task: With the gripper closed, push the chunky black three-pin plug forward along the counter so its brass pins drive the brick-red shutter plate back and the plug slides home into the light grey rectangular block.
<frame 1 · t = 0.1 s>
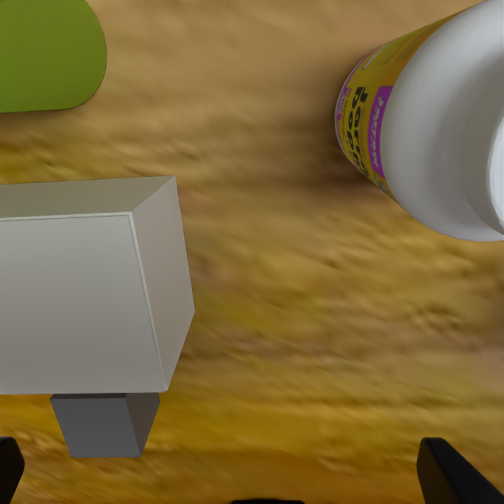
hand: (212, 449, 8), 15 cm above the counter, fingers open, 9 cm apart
plug: (124, 376, 26), on the counter
light grey rectangular block: (91, 252, 22), on the counter
supplement bottle: (396, 114, 19), on the counter
soap dispenser: (60, 51, 18), on the counter
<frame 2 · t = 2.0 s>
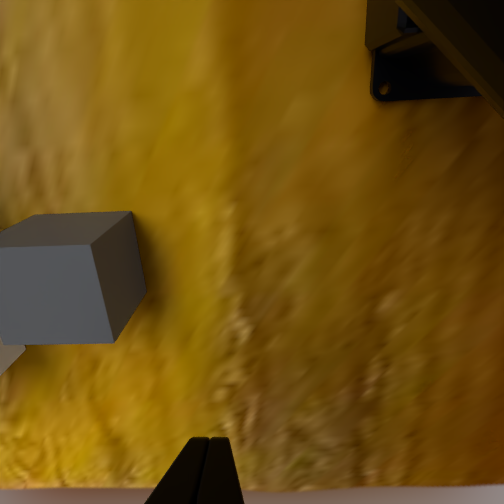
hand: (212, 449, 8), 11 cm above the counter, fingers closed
plug: (93, 254, 19), on the counter
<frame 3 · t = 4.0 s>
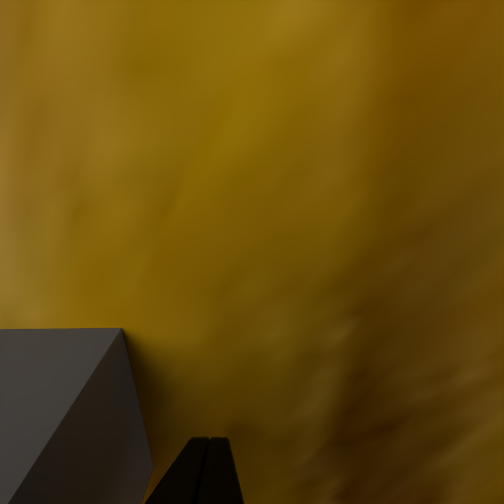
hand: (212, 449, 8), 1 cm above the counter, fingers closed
plug: (45, 401, 9), on the counter, touching gripper
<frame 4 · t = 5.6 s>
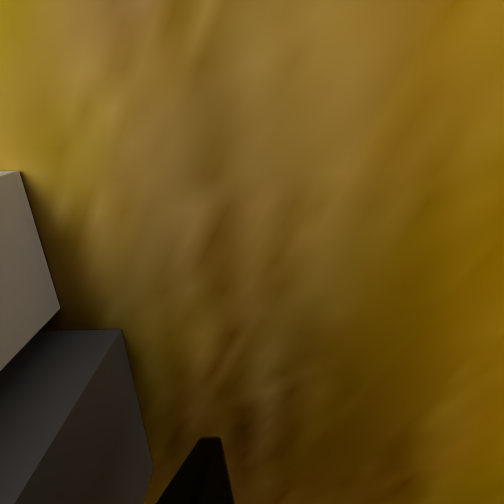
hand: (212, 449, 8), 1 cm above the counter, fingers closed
plug: (41, 407, 9), on the counter, touching gripper
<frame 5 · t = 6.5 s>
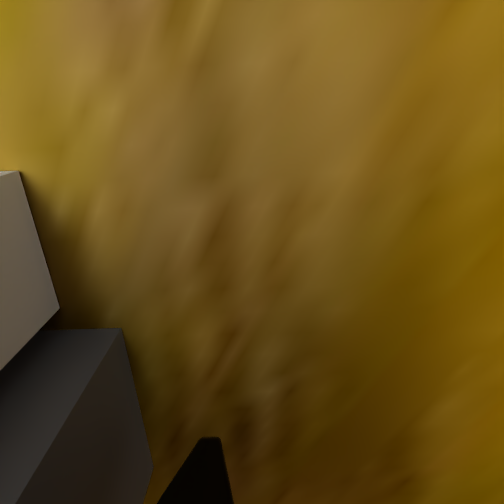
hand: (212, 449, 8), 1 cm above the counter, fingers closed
plug: (43, 403, 9), on the counter
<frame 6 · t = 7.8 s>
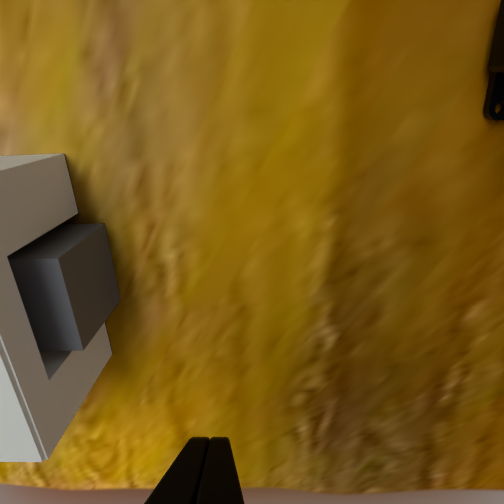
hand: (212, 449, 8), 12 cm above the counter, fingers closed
plug: (69, 263, 20), on the counter
light grey rectangular block: (12, 267, 20), on the counter
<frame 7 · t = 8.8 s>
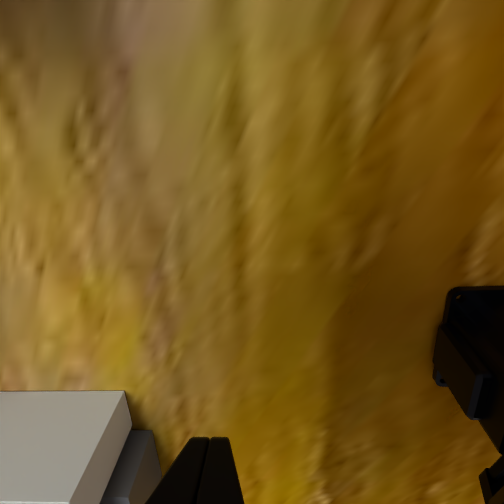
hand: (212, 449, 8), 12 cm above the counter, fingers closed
plug: (123, 452, 26), on the counter
light grey rectangular block: (79, 454, 26), on the counter
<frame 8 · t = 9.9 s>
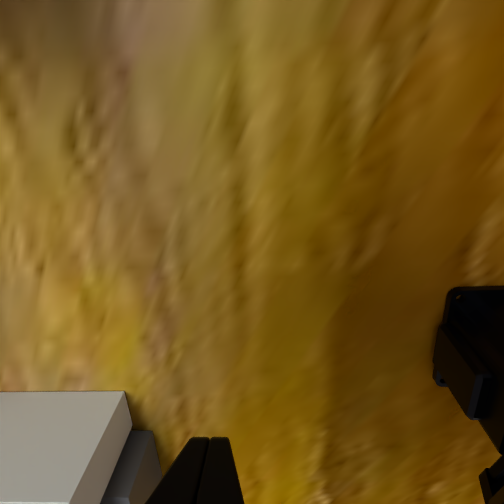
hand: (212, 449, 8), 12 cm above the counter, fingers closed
plug: (123, 452, 26), on the counter
light grey rectangular block: (79, 455, 26), on the counter
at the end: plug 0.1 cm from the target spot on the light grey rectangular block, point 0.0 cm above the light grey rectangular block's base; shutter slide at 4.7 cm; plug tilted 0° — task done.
